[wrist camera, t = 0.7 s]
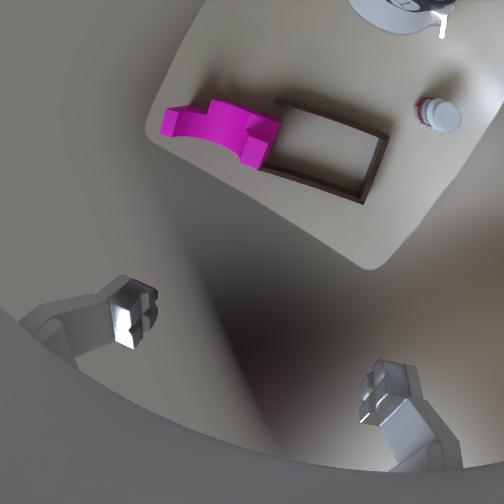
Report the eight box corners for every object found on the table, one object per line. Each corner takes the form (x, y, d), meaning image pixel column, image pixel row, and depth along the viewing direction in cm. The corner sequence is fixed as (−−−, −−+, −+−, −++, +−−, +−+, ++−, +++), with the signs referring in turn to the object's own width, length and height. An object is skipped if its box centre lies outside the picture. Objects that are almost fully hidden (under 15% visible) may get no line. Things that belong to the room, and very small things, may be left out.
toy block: (282, 120, 39) (275, 126, 32) (267, 156, 42) (258, 169, 36) (193, 90, 38) (170, 92, 32) (182, 125, 42) (160, 133, 36)
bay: (277, 97, 37) (275, 97, 35) (386, 134, 36) (390, 136, 34) (259, 165, 43) (256, 170, 41) (361, 199, 42) (363, 205, 40)
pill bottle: (443, 107, 31) (468, 112, 24) (432, 132, 33) (454, 141, 26) (419, 90, 30) (441, 91, 24) (407, 116, 33) (427, 121, 26)
